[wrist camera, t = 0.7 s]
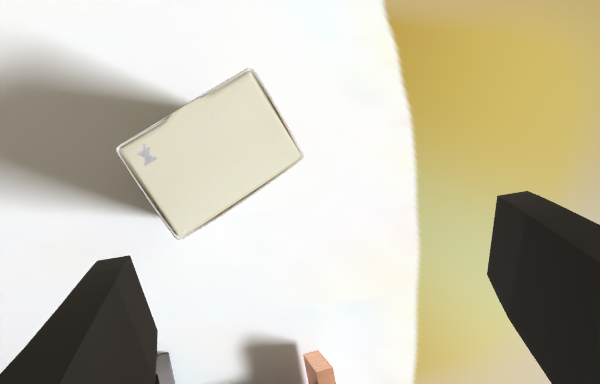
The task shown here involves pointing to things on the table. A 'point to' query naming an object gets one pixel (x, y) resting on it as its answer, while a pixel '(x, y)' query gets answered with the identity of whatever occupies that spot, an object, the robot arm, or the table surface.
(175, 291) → the table surface
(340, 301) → the table surface
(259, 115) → the skincare box
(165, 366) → the pit trap
